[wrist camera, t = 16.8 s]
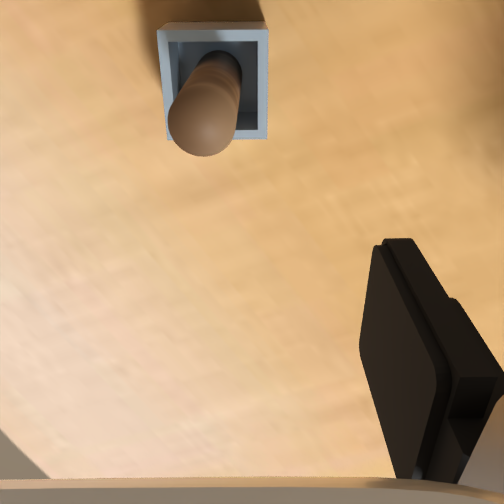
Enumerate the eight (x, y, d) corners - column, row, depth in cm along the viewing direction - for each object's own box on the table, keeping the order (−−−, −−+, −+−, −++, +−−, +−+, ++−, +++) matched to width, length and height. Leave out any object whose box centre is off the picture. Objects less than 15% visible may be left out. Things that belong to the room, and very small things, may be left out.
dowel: (242, 50, 32) (235, 88, 21) (242, 99, 33) (236, 156, 23) (194, 50, 32) (164, 88, 21) (197, 99, 33) (170, 156, 23)
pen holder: (264, 117, 35) (267, 139, 30) (176, 118, 35) (167, 140, 30) (265, 21, 31) (268, 29, 27) (168, 21, 31) (156, 30, 27)
